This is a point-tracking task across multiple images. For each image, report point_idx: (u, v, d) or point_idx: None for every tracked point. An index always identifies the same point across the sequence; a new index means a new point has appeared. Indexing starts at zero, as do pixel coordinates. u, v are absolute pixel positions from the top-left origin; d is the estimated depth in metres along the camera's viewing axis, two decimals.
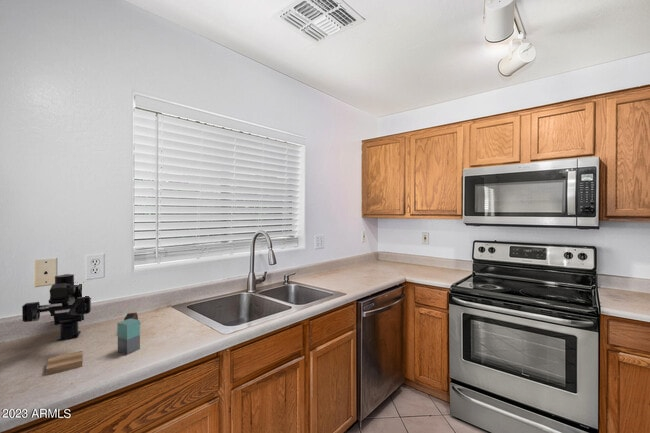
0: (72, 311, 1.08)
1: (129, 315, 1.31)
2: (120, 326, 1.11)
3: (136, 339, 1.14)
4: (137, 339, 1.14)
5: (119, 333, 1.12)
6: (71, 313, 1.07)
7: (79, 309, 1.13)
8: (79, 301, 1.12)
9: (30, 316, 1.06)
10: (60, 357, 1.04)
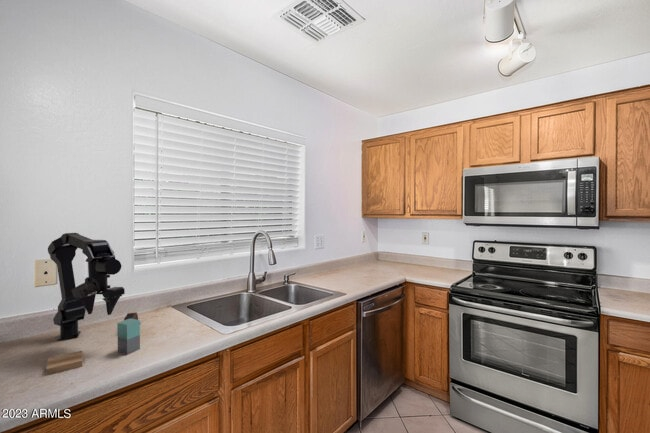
0: (110, 311, 1.15)
1: (129, 315, 1.32)
2: (120, 326, 1.11)
3: (136, 339, 1.14)
4: (137, 339, 1.14)
5: (119, 333, 1.12)
6: (111, 312, 1.15)
7: None
8: (107, 300, 1.12)
9: (87, 296, 1.19)
10: (60, 357, 1.04)
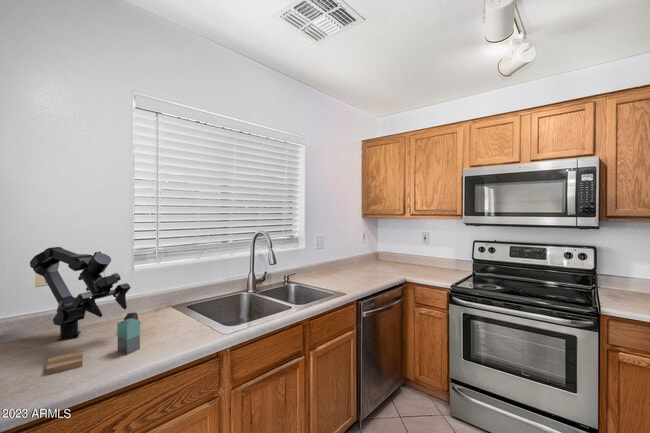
0: None
1: (129, 315, 1.32)
2: (120, 326, 1.11)
3: (136, 339, 1.14)
4: (137, 339, 1.14)
5: (119, 333, 1.12)
6: None
7: None
8: (125, 291, 1.23)
9: (84, 306, 1.11)
10: (60, 357, 1.04)
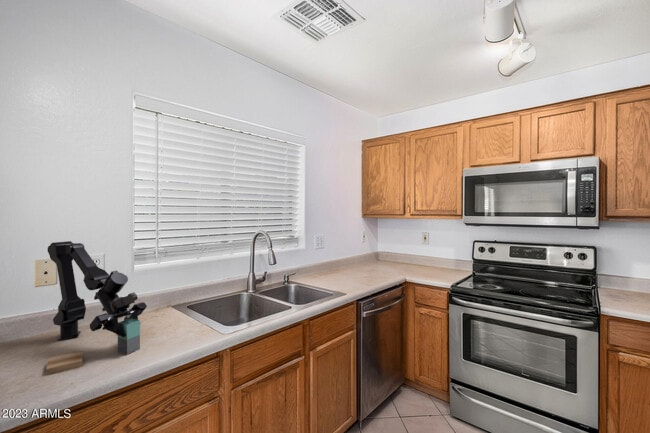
0: None
1: None
2: (120, 325, 1.11)
3: (136, 339, 1.14)
4: (137, 339, 1.14)
5: None
6: None
7: None
8: (137, 313, 1.18)
9: (107, 326, 1.10)
10: (60, 357, 1.04)
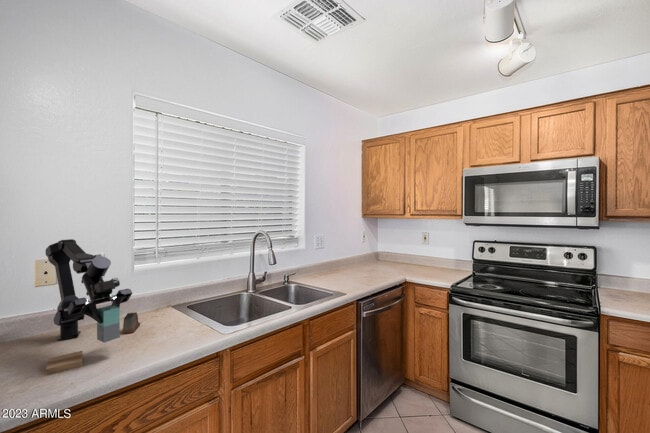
0: None
1: (129, 315, 1.32)
2: (99, 312, 1.07)
3: (115, 327, 1.09)
4: (116, 326, 1.09)
5: None
6: None
7: None
8: (120, 299, 1.13)
9: (86, 311, 1.07)
10: (60, 357, 1.04)
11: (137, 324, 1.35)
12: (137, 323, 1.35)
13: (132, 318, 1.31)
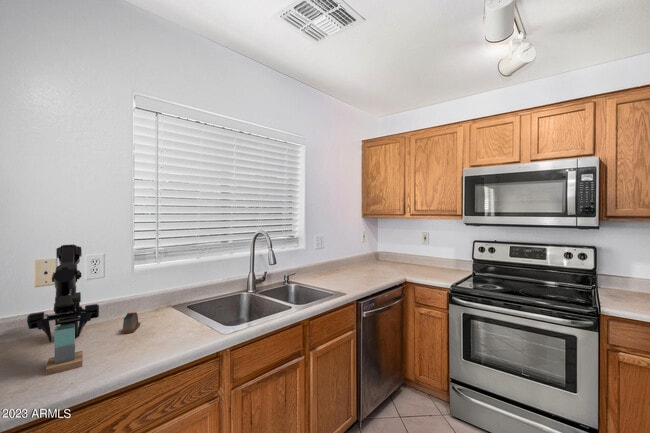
0: (80, 331, 1.05)
1: (129, 315, 1.32)
2: None
3: (69, 348, 1.02)
4: (70, 348, 1.02)
5: None
6: (80, 333, 1.05)
7: (85, 319, 1.09)
8: (85, 315, 1.07)
9: (41, 326, 1.02)
10: None
11: (137, 324, 1.35)
12: (137, 323, 1.35)
13: (132, 318, 1.31)
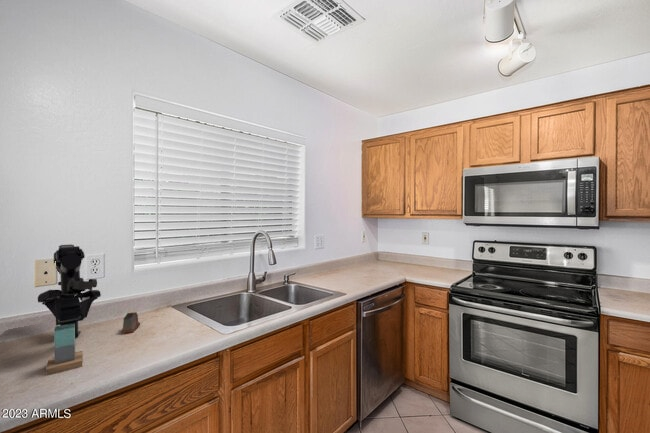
0: None
1: (128, 314, 1.32)
2: None
3: (69, 348, 1.02)
4: (70, 348, 1.02)
5: None
6: None
7: None
8: (93, 299, 1.19)
9: (48, 302, 1.07)
10: None
11: (137, 324, 1.35)
12: (137, 323, 1.35)
13: (132, 318, 1.31)
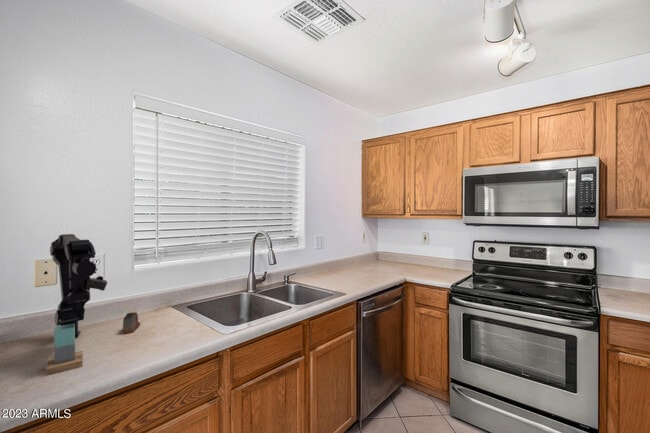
0: None
1: (128, 314, 1.32)
2: None
3: (69, 348, 1.02)
4: (70, 348, 1.02)
5: None
6: None
7: None
8: None
9: None
10: None
11: (137, 324, 1.35)
12: (137, 323, 1.35)
13: (132, 318, 1.31)
